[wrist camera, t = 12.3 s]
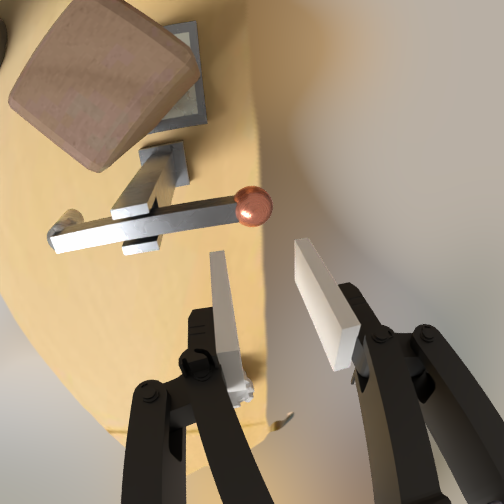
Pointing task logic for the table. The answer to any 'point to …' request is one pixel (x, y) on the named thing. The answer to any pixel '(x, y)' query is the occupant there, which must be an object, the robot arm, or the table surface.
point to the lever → (161, 220)
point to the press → (163, 154)
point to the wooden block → (102, 80)
